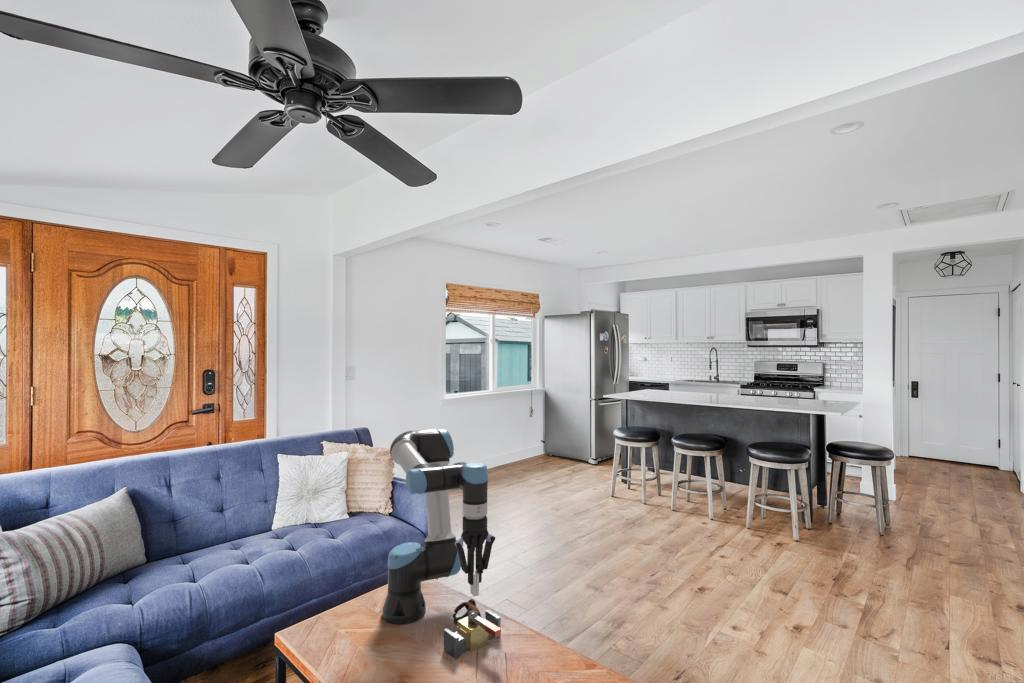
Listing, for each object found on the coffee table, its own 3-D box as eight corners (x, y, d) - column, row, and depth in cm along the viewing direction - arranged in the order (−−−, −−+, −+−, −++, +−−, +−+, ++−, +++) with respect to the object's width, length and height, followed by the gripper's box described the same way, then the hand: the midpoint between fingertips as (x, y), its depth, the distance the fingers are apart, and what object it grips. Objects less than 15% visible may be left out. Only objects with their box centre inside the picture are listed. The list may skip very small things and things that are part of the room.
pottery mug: (483, 634, 165) (471, 615, 164) (459, 643, 167) (446, 625, 165) (487, 606, 177) (476, 588, 175) (464, 615, 178) (453, 598, 177)
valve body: (443, 649, 156) (443, 627, 156) (487, 628, 168) (487, 607, 168) (456, 660, 150) (456, 636, 150) (501, 637, 162) (501, 615, 163)
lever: (465, 620, 159) (465, 612, 159) (473, 616, 161) (473, 609, 161) (494, 639, 149) (494, 631, 149) (502, 635, 151) (502, 627, 151)
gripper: (459, 522, 144) (458, 604, 144) (499, 516, 150) (499, 594, 150) (450, 515, 151) (449, 593, 150) (489, 508, 157) (489, 584, 156)
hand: (474, 593), depth 150 cm, fingers closed
